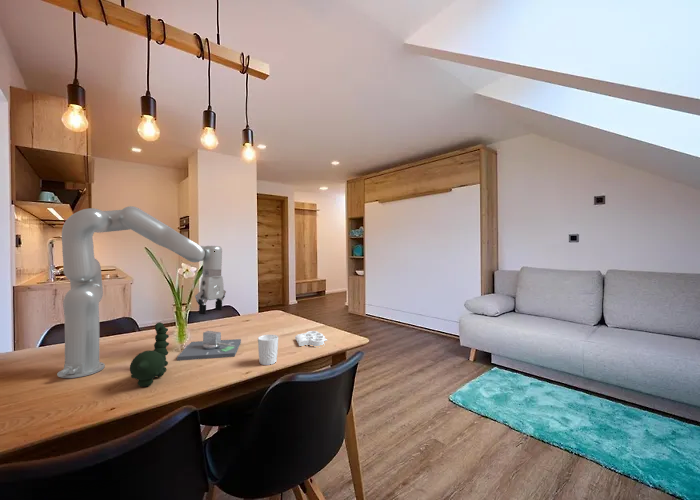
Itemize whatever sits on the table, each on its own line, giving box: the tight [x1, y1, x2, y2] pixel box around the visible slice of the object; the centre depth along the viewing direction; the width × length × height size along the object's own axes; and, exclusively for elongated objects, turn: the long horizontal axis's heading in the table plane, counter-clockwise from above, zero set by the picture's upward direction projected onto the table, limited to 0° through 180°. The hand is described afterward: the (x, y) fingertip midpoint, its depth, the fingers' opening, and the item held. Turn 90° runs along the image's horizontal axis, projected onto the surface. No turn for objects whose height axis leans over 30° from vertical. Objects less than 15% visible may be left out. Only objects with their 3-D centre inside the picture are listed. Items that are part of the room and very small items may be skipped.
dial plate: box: [176, 338, 242, 361], centre depth 134 cm, size 20×22×2 cm
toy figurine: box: [129, 321, 170, 388], centre depth 106 cm, size 9×19×25 cm
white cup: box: [257, 334, 279, 366], centre depth 121 cm, size 8×8×10 cm
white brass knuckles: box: [294, 330, 328, 347], centre depth 148 cm, size 3×18×15 cm
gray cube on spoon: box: [202, 330, 231, 350], centre depth 133 cm, size 7×14×6 cm, turn 72°
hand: (210, 311), depth 134 cm, fingers open, 9 cm apart
